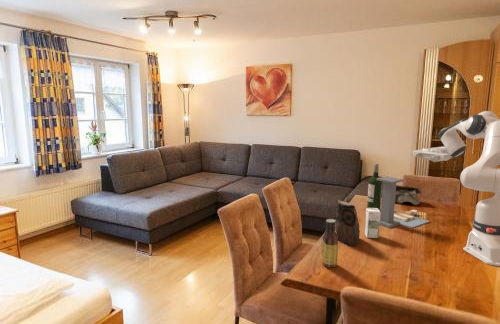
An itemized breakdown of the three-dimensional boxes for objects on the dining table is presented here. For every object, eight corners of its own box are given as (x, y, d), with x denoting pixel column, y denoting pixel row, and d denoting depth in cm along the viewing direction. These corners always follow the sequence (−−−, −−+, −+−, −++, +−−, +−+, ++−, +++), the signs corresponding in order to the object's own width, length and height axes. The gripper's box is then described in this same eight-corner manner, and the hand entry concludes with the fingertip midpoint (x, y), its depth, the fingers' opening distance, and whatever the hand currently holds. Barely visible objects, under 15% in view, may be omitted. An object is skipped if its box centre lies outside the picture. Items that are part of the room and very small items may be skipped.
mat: (392, 211, 210) (392, 210, 210) (429, 222, 190) (429, 221, 190) (374, 216, 200) (374, 215, 200) (411, 228, 180) (411, 227, 180)
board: (407, 211, 208) (408, 208, 207) (423, 215, 199) (423, 212, 199) (388, 216, 197) (389, 213, 197) (404, 221, 189) (404, 218, 189)
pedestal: (384, 219, 194) (387, 176, 190) (399, 224, 186) (403, 179, 182) (373, 222, 189) (376, 178, 185) (389, 228, 181) (392, 181, 176)
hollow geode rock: (376, 206, 236) (375, 194, 225) (378, 191, 243) (377, 179, 232) (420, 210, 223) (421, 198, 212) (421, 194, 230) (422, 182, 219)
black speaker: (357, 247, 156) (359, 207, 153) (330, 243, 161) (332, 203, 158) (360, 238, 167) (362, 200, 164) (335, 234, 172) (336, 197, 169)
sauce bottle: (326, 260, 144) (327, 216, 140) (339, 264, 140) (341, 219, 136) (318, 265, 139) (320, 220, 135) (332, 270, 135) (334, 224, 131)
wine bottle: (364, 208, 216) (367, 162, 211) (374, 207, 218) (377, 162, 213) (372, 211, 208) (375, 165, 203) (382, 210, 211) (386, 164, 206)
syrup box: (375, 234, 172) (377, 207, 170) (378, 238, 166) (380, 211, 164) (364, 233, 173) (365, 207, 170) (367, 238, 167) (368, 210, 165)
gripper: (453, 162, 197) (441, 164, 190) (419, 157, 214) (407, 159, 206) (454, 151, 196) (442, 153, 189) (420, 147, 213) (408, 149, 205)
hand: (423, 156), depth 198 cm, fingers open, 8 cm apart
